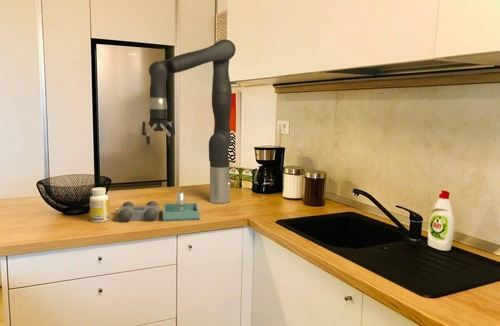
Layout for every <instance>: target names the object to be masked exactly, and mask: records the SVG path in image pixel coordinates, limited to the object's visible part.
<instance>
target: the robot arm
mask: <svg viewBox="0 0 500 326" xmlns="http://www.w3.org/2000/svg"><path fill="white" fill-rule="evenodd" d="M236 52H237V51H236V46H235V44H234V42H232V41H231V40H229V39H225V38H224V39H220V40H218V41H216V42H215V43H214V44H213V45H210V46H208V47H205V48H202V49H198V50H193V51H189V52H185V53H182V54H179V55H174V56H172V57H170V58H168V59H164V60H160V61H153V62H152V63H151V64H150V65H149V67H148V74H149V75H150V86H149V106H148V107H149V121H142V124H141V127H142V128H141V135H142V136H145V137H146V139H145V140H146V144H147V145H148V146H151V136H150V135H151V134H152V133H153V131H154V132H164V133H166V135H167V145H168V146H170V144H171V143H172V136H175V135H176V131H175V127H176V126H175V121H168V102H167V79H168V78H167V76H169V75H172V74H177V73H181V72H184V71H188V70H190V69H193V68H197V67H199V66H201V65H205V64H207V63H211V62H212V71H213V73H212V85H211V86H212V87H211V109H212V114H213V119H214V128H213V129H214V130H213V134H211V136H210V137H209V140H208V160H209V202H210V203H212V204H227V203H231V182H230V164H231V163H230V158H229V148H230V146H231V143H232V138H231V125H230V124H231V122H230V121H231V112H232V111H231V110H232V99H233V91H232V90H233V89H232V84H231V83H232V82H231V79H230V75H229V65H230V60H231V59H232V58H233V57H234V55H235V54H236ZM168 125H169V127H170V128H171V132H170V131H169V130H168V129H167V127H168ZM147 126H149V127H150V129H149V130H148V131H147V132H146V127H147Z"/></svg>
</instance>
